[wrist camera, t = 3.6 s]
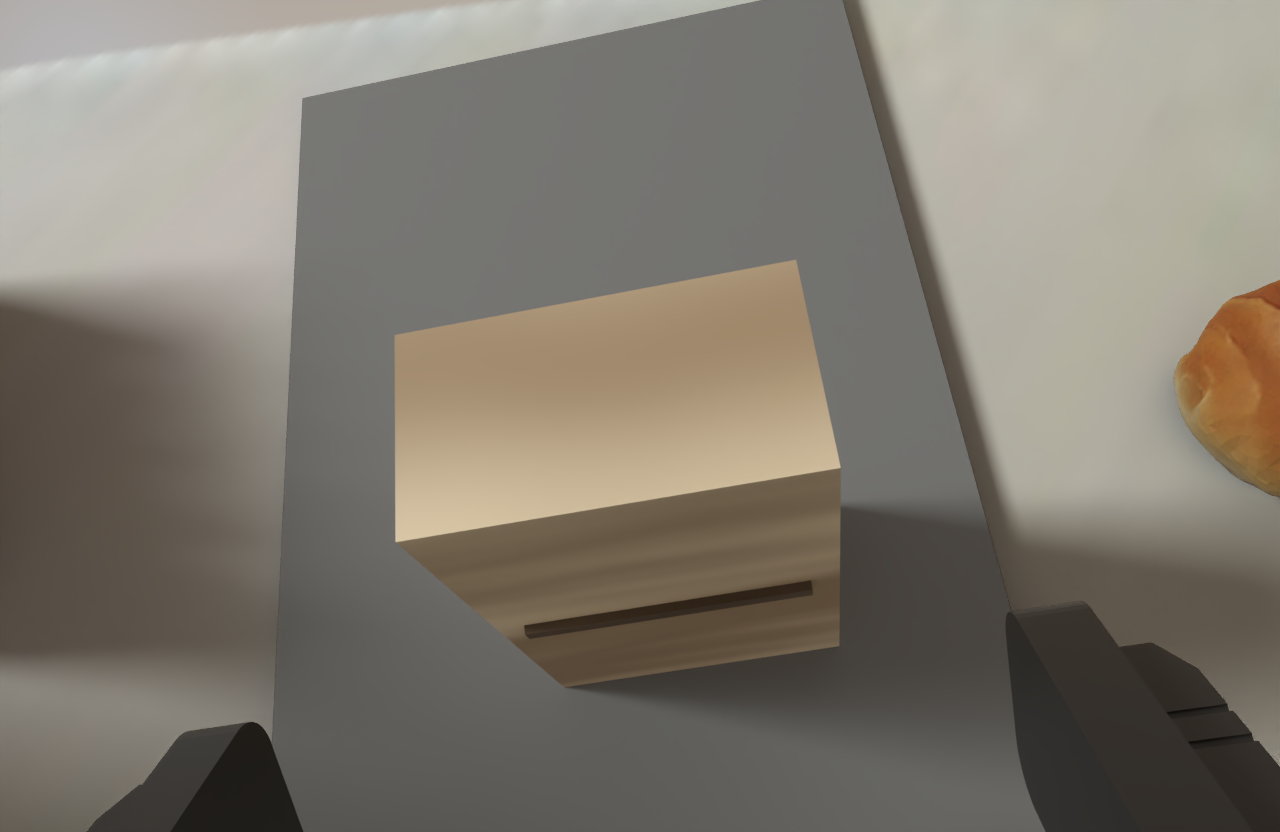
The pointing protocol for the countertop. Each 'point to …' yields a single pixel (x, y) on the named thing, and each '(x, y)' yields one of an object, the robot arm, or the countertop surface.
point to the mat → (592, 267)
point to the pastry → (1237, 387)
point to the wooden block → (628, 475)
